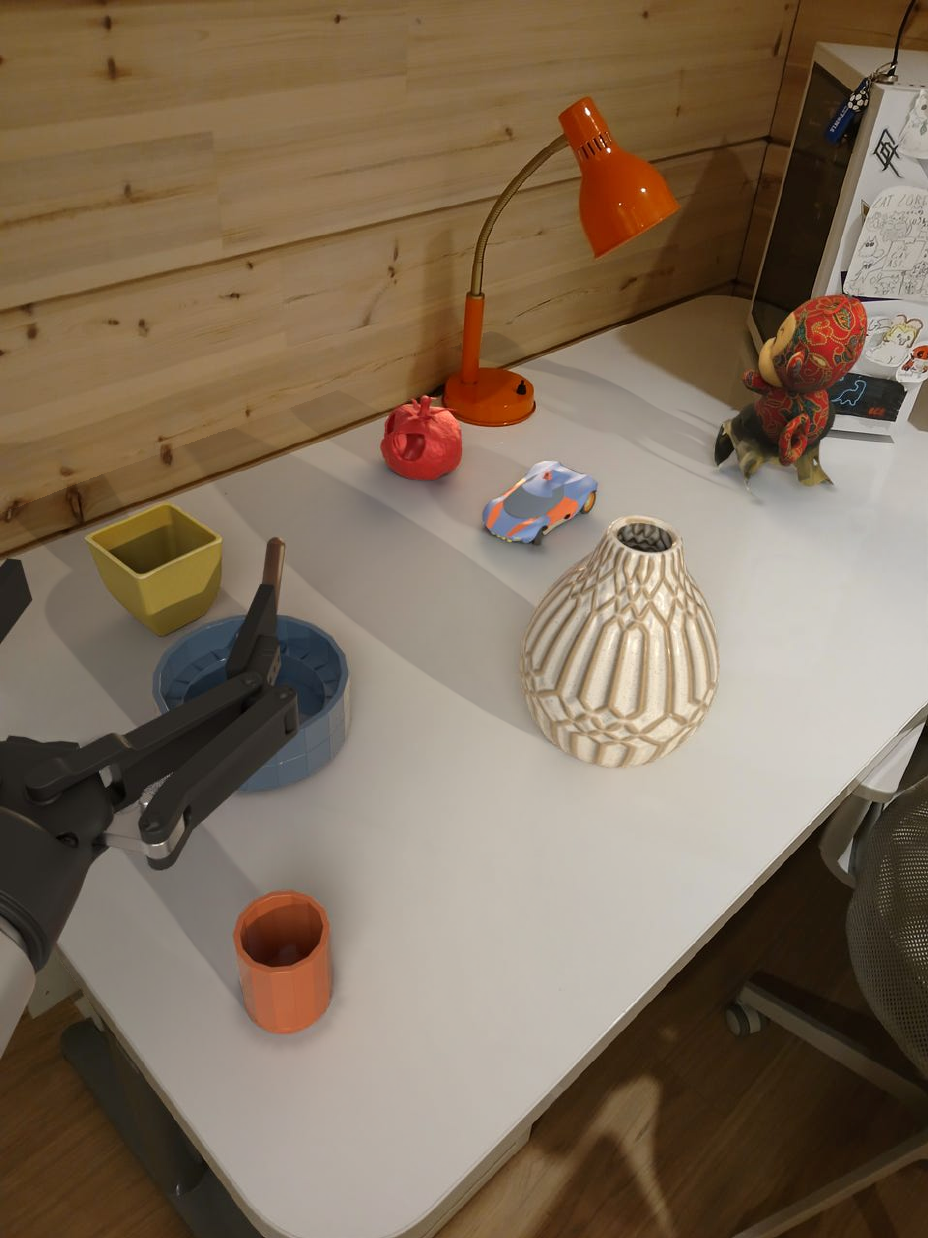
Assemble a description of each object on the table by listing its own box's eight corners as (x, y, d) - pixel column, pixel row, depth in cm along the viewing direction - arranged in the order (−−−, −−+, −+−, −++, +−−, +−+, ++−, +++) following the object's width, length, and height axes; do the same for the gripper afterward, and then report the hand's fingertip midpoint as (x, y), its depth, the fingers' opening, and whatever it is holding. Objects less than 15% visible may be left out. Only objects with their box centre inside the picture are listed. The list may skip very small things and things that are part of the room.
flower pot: (153, 659, 86) (138, 578, 80) (100, 614, 90) (82, 534, 85) (234, 616, 91) (225, 537, 85) (180, 576, 95) (167, 498, 90)
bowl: (135, 785, 74) (122, 731, 71) (196, 657, 86) (187, 605, 83) (329, 806, 74) (327, 753, 70) (363, 675, 86) (363, 622, 82)
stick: (239, 721, 79) (264, 534, 82) (250, 724, 80) (273, 540, 83) (256, 722, 78) (280, 534, 81) (266, 725, 80) (290, 540, 83)
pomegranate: (436, 439, 120) (439, 369, 114) (477, 477, 114) (483, 404, 108) (365, 456, 116) (364, 384, 110) (403, 496, 109) (404, 422, 104)
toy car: (465, 532, 104) (468, 490, 101) (542, 480, 114) (547, 440, 111) (526, 561, 101) (531, 518, 97) (600, 505, 110) (607, 464, 107)
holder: (233, 1029, 60) (221, 967, 55) (256, 948, 64) (248, 885, 60) (322, 1040, 60) (317, 979, 55) (339, 957, 64) (337, 894, 60)
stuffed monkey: (838, 447, 121) (917, 271, 101) (823, 541, 112) (906, 368, 92) (720, 419, 124) (774, 242, 104) (695, 508, 114) (749, 333, 94)
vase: (641, 652, 90) (684, 465, 78) (734, 774, 79) (802, 579, 66) (484, 686, 85) (502, 492, 73) (558, 821, 74) (595, 619, 61)
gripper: (-342, 959, 38) (-63, 622, 54) (284, 1033, 37) (374, 667, 53) (-444, 838, 33) (-105, 510, 50) (270, 919, 32) (374, 557, 49)
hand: (144, 591), depth 52 cm, fingers open, 13 cm apart
